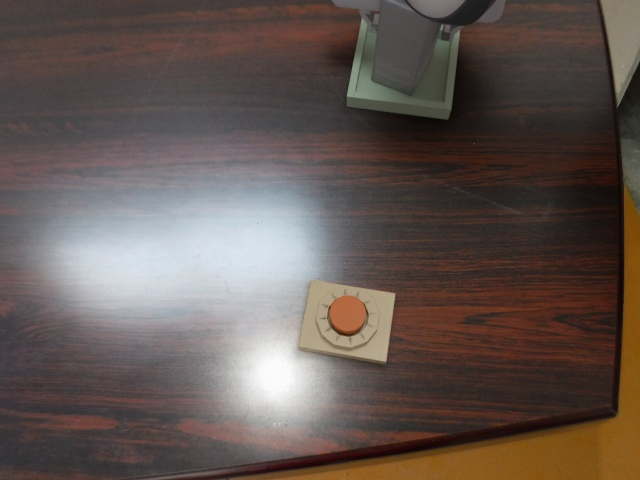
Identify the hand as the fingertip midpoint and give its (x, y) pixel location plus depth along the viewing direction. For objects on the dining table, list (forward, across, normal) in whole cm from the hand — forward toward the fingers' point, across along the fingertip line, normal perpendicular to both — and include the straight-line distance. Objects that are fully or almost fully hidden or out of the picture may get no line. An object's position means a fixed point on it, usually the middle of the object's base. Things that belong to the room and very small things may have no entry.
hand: (410, 33), depth 69 cm
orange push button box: (+8, -2, -37) cm, 38 cm away
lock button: (+4, -2, -37) cm, 37 cm away
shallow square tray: (+8, 0, 0) cm, 8 cm away
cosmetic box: (+7, 0, 0) cm, 7 cm away
